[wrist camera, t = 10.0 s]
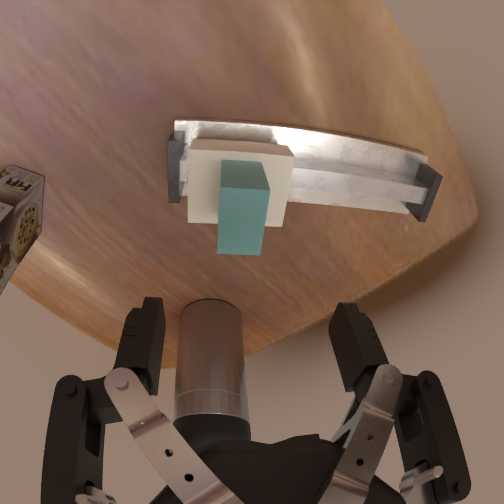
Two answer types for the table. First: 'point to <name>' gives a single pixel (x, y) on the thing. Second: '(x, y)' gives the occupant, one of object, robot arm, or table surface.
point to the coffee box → (18, 217)
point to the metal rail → (314, 150)
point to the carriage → (238, 190)
